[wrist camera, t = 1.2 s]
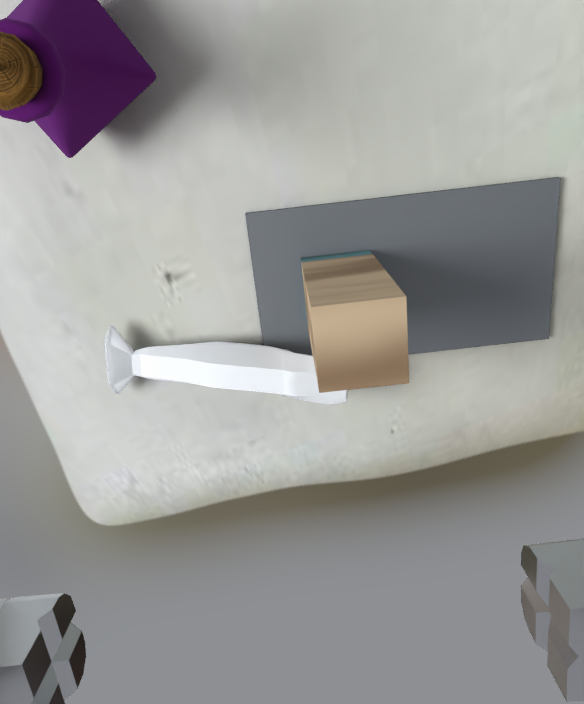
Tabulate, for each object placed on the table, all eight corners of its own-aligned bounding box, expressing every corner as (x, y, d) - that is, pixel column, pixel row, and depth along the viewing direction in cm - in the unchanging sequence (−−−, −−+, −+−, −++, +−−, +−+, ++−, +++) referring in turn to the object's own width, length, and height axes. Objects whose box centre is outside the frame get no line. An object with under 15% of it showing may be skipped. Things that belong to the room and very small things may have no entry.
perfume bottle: (167, 81, 36) (76, 40, 19) (85, 157, 38) (-64, 180, 21) (82, -27, 34) (-105, -180, 17) (-1, 59, 35) (-248, -3, 19)
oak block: (300, 257, 40) (310, 307, 29) (369, 249, 40) (406, 296, 29) (306, 322, 42) (319, 392, 31) (373, 315, 42) (409, 383, 31)
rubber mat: (245, 213, 39) (245, 213, 39) (557, 177, 39) (560, 177, 39) (266, 368, 44) (266, 370, 43) (546, 336, 43) (549, 338, 43)
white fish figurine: (345, 397, 44) (345, 422, 40) (120, 381, 45) (100, 404, 41) (350, 331, 42) (351, 351, 38) (114, 317, 43) (93, 335, 39)
